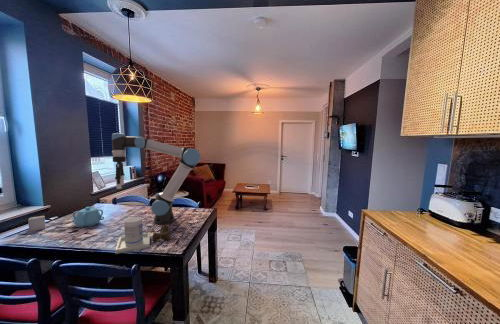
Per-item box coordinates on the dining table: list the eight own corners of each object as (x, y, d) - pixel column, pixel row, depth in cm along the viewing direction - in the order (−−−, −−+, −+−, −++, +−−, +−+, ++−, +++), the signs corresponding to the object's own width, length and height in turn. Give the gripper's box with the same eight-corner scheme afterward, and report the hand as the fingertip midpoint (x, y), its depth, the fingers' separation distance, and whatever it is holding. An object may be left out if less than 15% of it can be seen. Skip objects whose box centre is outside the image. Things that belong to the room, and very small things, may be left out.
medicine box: (45, 226, 147) (44, 215, 146) (45, 228, 144) (44, 216, 143) (29, 229, 141) (28, 218, 141) (29, 232, 138) (28, 219, 137)
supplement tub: (143, 244, 122) (142, 220, 121) (125, 248, 117) (124, 223, 116) (142, 237, 130) (141, 215, 129) (124, 241, 125) (123, 218, 124)
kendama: (172, 231, 144) (168, 244, 124) (157, 233, 141) (151, 246, 122) (172, 223, 143) (167, 234, 124) (157, 224, 141) (150, 236, 122)
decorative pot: (70, 225, 149) (69, 208, 148) (96, 219, 163) (95, 202, 162) (80, 231, 141) (78, 212, 140) (105, 223, 155) (105, 206, 154)
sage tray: (149, 235, 135) (149, 232, 135) (149, 247, 120) (149, 243, 120) (119, 240, 128) (119, 237, 127) (115, 254, 112) (115, 249, 112)
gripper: (115, 155, 147) (116, 183, 149) (109, 157, 125) (110, 190, 127) (127, 155, 150) (128, 183, 152) (123, 157, 128) (124, 189, 130)
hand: (120, 186), depth 139 cm, fingers open, 13 cm apart
